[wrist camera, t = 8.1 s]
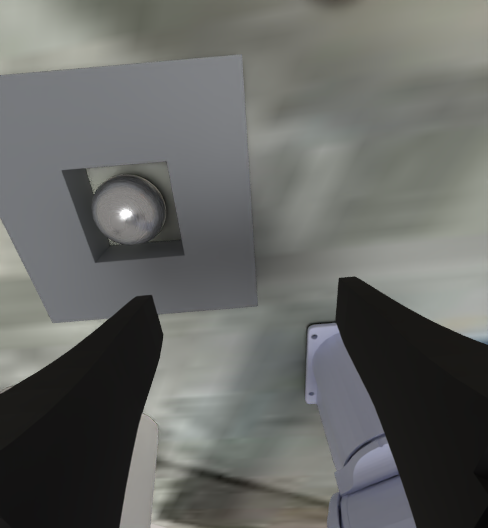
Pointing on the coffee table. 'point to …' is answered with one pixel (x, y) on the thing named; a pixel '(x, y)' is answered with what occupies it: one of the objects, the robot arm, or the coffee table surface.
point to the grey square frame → (123, 153)
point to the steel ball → (128, 209)
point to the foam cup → (141, 477)
